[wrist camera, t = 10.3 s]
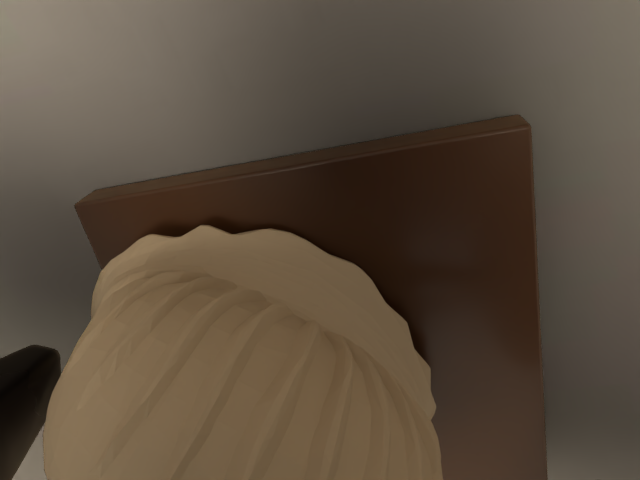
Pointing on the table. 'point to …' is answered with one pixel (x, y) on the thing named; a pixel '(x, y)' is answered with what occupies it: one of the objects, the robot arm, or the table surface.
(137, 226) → the coaster
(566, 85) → the table surface
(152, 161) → the table surface
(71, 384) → the decorative ornament
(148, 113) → the table surface
